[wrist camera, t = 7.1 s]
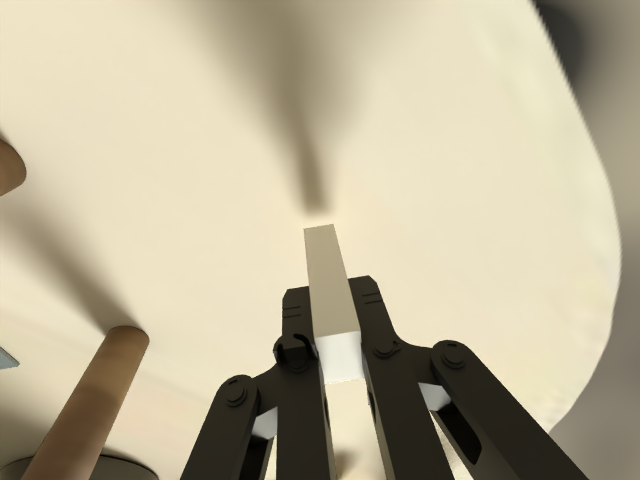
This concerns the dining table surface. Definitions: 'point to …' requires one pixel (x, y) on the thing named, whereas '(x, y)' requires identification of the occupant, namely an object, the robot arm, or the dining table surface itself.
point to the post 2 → (90, 409)
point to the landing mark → (7, 360)
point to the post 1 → (10, 169)
